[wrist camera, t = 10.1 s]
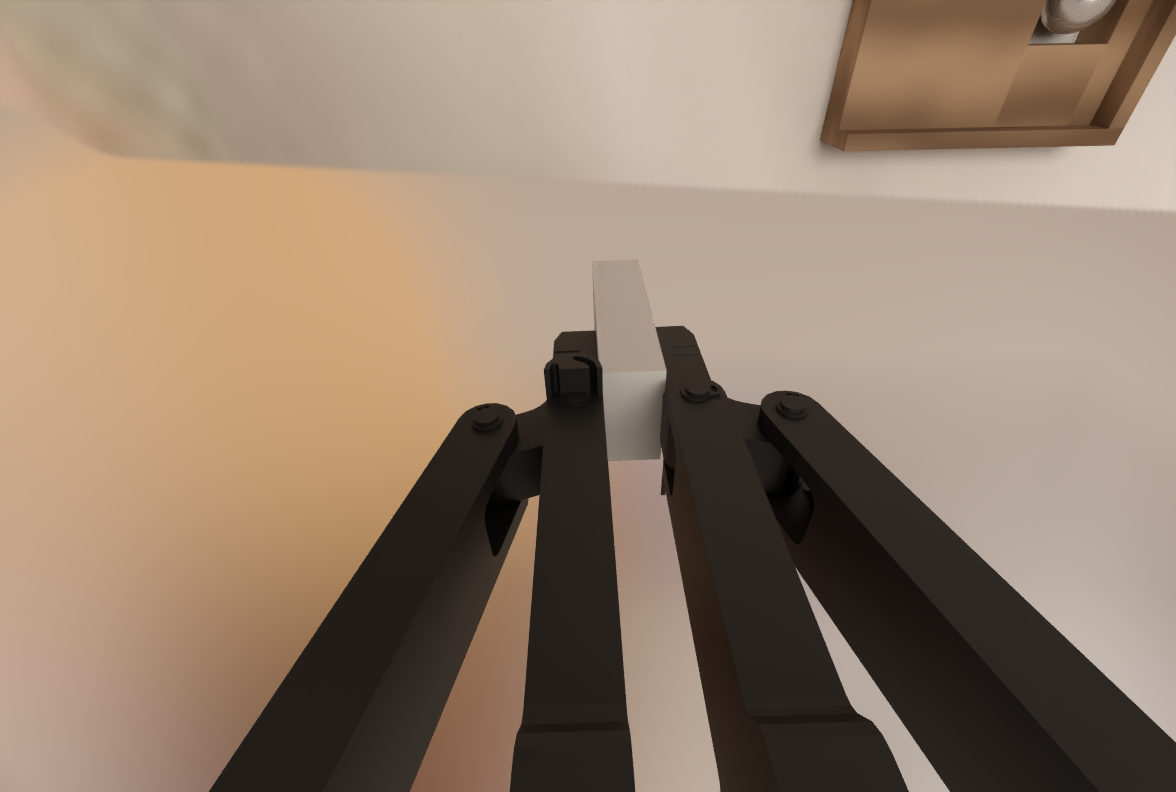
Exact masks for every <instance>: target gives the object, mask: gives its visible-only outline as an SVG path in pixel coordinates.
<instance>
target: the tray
mask: <svg viewBox="0 0 1176 792" xmlns="http://www.w3.org/2000/svg"><path fill="white" fill-rule="evenodd" d="M1045 3H1046V0H853V4H852V8H851V12H850V16H849V21H848V25H847V29H846V33H845V38H844V42H843V46H842V50H841V55H840V59H839V63H838V67H837V72H836V76H835V80H834V84H833V89H832V93H831V97H830V101H829V106H828V110H827V114H826V118H825V123H824V127H823V131H822V135H821V140H822V141H824V142H826V143H828V144H830V145H832V146H834V147H837V148H839V149H841V150H843V151H866V150H914V149H962V148H1010V147H1057V146H1105V145H1115V143H1116V141H1117V140H1118V138H1119V136H1120V134H1121V132H1122V131H1123V129H1124V127H1125V125H1126V123H1127V122H1128V120H1129V118H1130V116H1131V114H1132V113H1133V111H1134V109H1135V107H1136V105H1137V104H1138V102H1139V100H1140V98H1141V96H1142V95H1143V93H1144V91H1145V89H1146V87H1147V86H1148V84H1149V82H1150V80H1151V78H1152V76H1153V75H1154V73H1155V71H1156V69H1157V67H1158V66H1159V64H1160V62H1161V60H1162V58H1163V57H1164V55H1165V53H1166V51H1167V49H1168V48H1169V46H1170V44H1171V42H1172V40H1173V39H1174V37H1175V35H1176V0H1117V1H1116V2H1115V4H1114V5H1113V7H1112V8H1111V9H1110V10H1109V11H1108V12H1107V13H1106V14H1105V15H1104V16H1103V17H1102V18H1101V19H1100V20H1098V21H1097V22H1096V23H1094V24H1093V25H1091V26H1089V27H1087V28H1085V29H1083V30H1081V32H1080V34H1079V36H1078V38H1077V41H1076V43H1057V44H1029V41H1030V39H1031V36H1032V34H1033V31H1034V29H1035V27H1036V24H1037V22H1038V19H1039V17H1040V15H1041V12H1042V10H1043V7H1044V5H1045Z"/></svg>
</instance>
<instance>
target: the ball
mask: <svg viewBox="0 0 1176 792" xmlns="http://www.w3.org/2000/svg"><path fill="white" fill-rule="evenodd" d="M1116 1H1117V0H1046V3H1045V5H1044V7H1043V10H1042V12H1041V15H1040V18H1041V21H1042V23H1043V25H1044V26H1045V27H1046V28H1047V29H1048V30H1050V31H1051V32H1054V33H1058V34H1069V33H1074V32H1077V31H1081V30H1083V29H1085V28H1087V27H1089V26H1091V25H1093V24H1094V23H1096V22H1097V21H1098V20H1100V19H1101V18H1102V17H1103V16H1104V15H1105V14H1106V13H1107V12H1108V11H1109V10H1110V9H1111V8H1112V7H1113V5H1114V4H1115V2H1116Z"/></svg>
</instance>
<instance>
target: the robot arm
mask: <svg viewBox="0 0 1176 792" xmlns="http://www.w3.org/2000/svg"><path fill="white" fill-rule="evenodd" d="M592 266H593V299H594V331H572V332H562V333H561V334H560V335H559V336H558V337H557V339H556V340H555V341H554V354H553V359H552V360H550V361H549V362H548V363H547V364H546V366H545V368H544V377H545V386H546V395H547V400H546V402H545V403H543V404H542V405H541V406H539V407H537V408H535V409H534V410H531V411H528V412H525V413H521V414H517V415H515V413H514V411H513V410H512V409H510V408H509V407H508V406H505V405H502V404H497V403H490V404H483V405H479V406H475V407H473V408H471V409H469V410H467V411H466V412H465V413H464V414H463V415H462V416H461V417H460V418H459V419H458V421H457V422H456V424H455V425H454V427H453V428H452V430H451V431H450V433H449V434H448V436H447V437H446V439H445V440H444V442H443V443H442V445H441V446H440V448H439V449H438V451H437V452H436V454H435V455H434V457H433V458H432V460H431V461H430V462H429V464H428V466H427V467H426V468H425V470H424V472H423V473H422V475H421V476H420V477H419V479H418V480H417V482H416V484H415V485H414V486H413V488H412V490H411V491H410V492H409V494H408V495H407V497H406V498H405V500H404V501H403V503H402V504H401V506H400V507H399V509H398V510H397V512H396V513H395V515H394V516H393V518H392V519H391V521H390V522H389V524H388V525H387V527H386V528H385V530H384V531H383V533H382V534H381V536H380V537H379V539H378V540H377V542H376V543H375V545H374V546H373V548H372V549H371V551H370V552H369V554H368V555H367V556H366V558H365V560H364V561H363V562H362V564H361V565H360V567H359V569H358V570H357V572H356V573H355V574H354V576H353V577H352V579H351V580H350V582H349V583H348V585H347V587H346V588H345V589H344V591H343V592H342V594H341V595H340V597H339V598H338V600H337V601H336V603H335V604H334V606H333V608H332V609H331V610H330V612H329V613H328V615H327V617H326V618H325V619H324V621H323V622H322V624H321V625H320V627H319V628H318V630H317V631H316V633H315V634H314V636H313V637H312V639H311V640H310V642H309V643H308V645H307V646H306V647H305V649H304V650H303V652H302V653H301V655H300V656H299V658H298V659H297V661H296V662H295V664H294V665H293V667H292V668H291V670H290V672H289V673H288V674H287V676H286V677H285V679H284V680H283V682H282V684H281V685H280V686H279V688H278V689H277V691H276V692H275V694H274V695H273V697H272V698H271V700H270V701H269V703H268V704H267V706H266V707H265V709H264V710H263V712H262V713H261V715H260V717H259V718H258V719H257V721H256V722H255V724H254V725H253V727H252V728H251V730H250V731H249V733H248V734H247V736H246V737H245V738H244V740H243V742H242V743H241V744H240V746H239V748H238V749H237V750H236V752H235V753H234V755H233V756H232V758H231V760H230V761H229V762H228V764H227V765H226V767H225V768H224V770H223V771H222V773H221V774H220V776H219V777H218V779H217V780H216V782H215V783H214V785H213V786H212V788H211V789H210V791H209V792H410V790H411V787H412V785H413V782H414V780H415V777H416V775H417V773H418V770H419V768H420V765H421V763H422V760H423V758H424V756H425V753H426V751H427V748H428V746H429V743H430V741H431V738H432V736H433V734H434V731H435V729H436V726H437V724H438V721H439V719H440V717H441V714H442V712H443V709H444V706H445V704H446V702H447V699H448V697H449V695H450V692H451V690H452V687H453V685H454V683H455V680H456V678H457V675H458V673H459V670H460V668H461V665H462V663H463V661H464V658H465V656H466V653H467V651H468V648H469V646H470V643H471V641H472V639H473V636H474V633H475V631H476V629H477V626H478V624H479V622H480V619H481V617H482V614H483V612H484V609H485V607H486V605H487V602H488V600H489V597H490V595H491V592H492V590H493V587H494V585H495V583H496V580H497V578H498V575H499V573H500V570H501V568H502V566H503V563H504V561H505V558H506V556H507V553H508V550H509V548H510V546H511V544H512V541H513V539H514V536H515V534H516V531H517V529H518V527H519V524H520V522H521V519H522V517H523V514H524V512H525V509H526V507H527V505H528V498H530V497H534V496H537V495H540V497H539V510H538V524H537V537H536V550H535V564H534V576H533V590H532V604H531V616H530V630H529V643H528V656H527V670H526V684H525V696H524V710H523V718H522V723H521V726H520V728H519V730H518V733H517V736H516V741H515V746H514V754H513V764H512V772H511V784H510V792H635V782H634V770H633V758H632V746H631V737H630V729H629V724H628V718H627V707H626V694H625V680H624V669H623V668H624V667H623V654H622V641H621V627H620V616H619V615H620V614H619V602H618V588H617V575H616V561H615V548H614V535H613V522H612V509H611V495H610V482H609V470H608V461H618V460H619V461H621V460H644V459H645V460H648V459H660V454H661V448H662V453H663V458H664V461H663V473H662V474H663V475H662V487H661V495H665V492H666V496H667V501H668V506H669V512H670V517H671V523H672V528H673V533H674V539H675V544H676V549H677V554H678V560H679V565H680V571H681V576H682V581H683V587H684V592H685V597H686V602H687V608H688V614H689V619H690V624H691V629H692V634H693V640H694V645H695V650H696V656H697V662H698V667H699V672H700V678H701V683H702V688H703V694H704V699H705V704H706V710H707V715H708V721H709V725H710V731H711V737H712V742H713V747H714V753H715V758H716V763H717V769H718V775H719V781H720V791H721V792H909V791H908V789H907V786H906V784H905V782H904V779H903V777H902V775H901V773H900V770H899V768H898V765H897V763H896V761H895V759H894V756H893V754H892V752H891V750H890V748H889V746H888V744H887V742H886V740H885V739H884V737H883V735H882V733H881V732H880V731H879V730H878V728H877V727H876V726H875V725H874V723H873V722H872V721H870V720H869V719H867V718H865V717H863V716H861V715H860V714H858V713H857V712H856V711H855V710H854V709H853V707H852V706H851V704H850V702H849V700H848V698H847V696H846V694H845V691H844V689H843V686H842V683H841V681H840V679H839V676H838V673H837V671H836V668H835V666H834V663H833V661H832V658H831V656H830V653H829V651H828V648H827V646H826V643H825V641H824V638H823V636H822V633H821V631H820V628H819V626H818V623H817V621H816V619H815V616H814V613H813V611H812V608H811V606H810V603H809V601H808V598H807V596H806V593H805V591H804V588H803V586H802V583H801V581H800V578H799V576H798V573H797V571H796V568H797V570H798V571H799V573H800V574H801V576H802V577H803V579H804V580H805V582H806V583H807V584H808V586H809V587H810V589H811V590H812V592H813V593H814V595H815V596H816V597H817V599H818V600H819V602H820V603H821V604H822V606H823V608H824V609H825V611H826V612H827V613H828V615H829V616H830V618H831V619H832V621H833V622H834V624H835V625H836V626H837V628H838V629H839V631H840V632H841V634H842V635H843V637H844V638H845V640H846V641H847V643H848V644H849V646H850V647H851V648H852V650H853V651H854V653H855V654H856V656H857V657H858V658H859V660H860V662H861V663H862V664H863V666H864V667H865V669H866V670H867V671H868V673H869V675H870V676H871V677H872V679H873V680H874V682H875V683H876V685H877V686H878V688H879V689H880V691H881V692H882V694H883V695H884V696H885V698H886V699H887V701H888V702H889V704H890V705H891V706H892V708H893V709H894V711H895V712H896V714H897V715H898V717H899V718H900V719H901V721H902V722H903V724H904V725H905V727H906V728H907V730H908V731H909V733H910V734H911V736H912V737H913V739H914V740H915V741H916V743H917V744H918V746H919V747H920V749H921V750H922V752H923V753H924V754H925V756H926V757H927V759H928V760H929V762H930V763H931V764H932V766H933V767H934V769H935V770H936V772H937V773H938V775H939V776H940V778H941V779H942V781H943V782H944V784H945V785H946V786H947V788H948V789H949V791H950V792H1176V742H1175V741H1174V740H1173V739H1171V738H1170V737H1169V736H1168V735H1167V734H1166V733H1165V732H1164V731H1163V730H1162V729H1161V728H1160V727H1159V726H1158V725H1157V724H1156V723H1155V722H1153V720H1152V719H1150V718H1149V717H1148V716H1147V715H1146V714H1145V713H1144V712H1143V711H1142V710H1141V709H1140V708H1139V707H1138V706H1137V705H1136V704H1135V703H1134V702H1132V700H1130V699H1129V698H1128V697H1127V696H1126V695H1125V694H1124V693H1123V692H1122V691H1121V690H1120V689H1119V688H1118V687H1117V686H1116V685H1115V684H1114V683H1113V682H1112V681H1110V680H1109V679H1108V678H1107V677H1106V676H1105V675H1104V674H1103V673H1102V672H1101V671H1100V670H1099V669H1098V668H1097V667H1096V666H1095V665H1094V664H1093V663H1092V662H1090V661H1089V660H1088V659H1087V658H1086V657H1085V656H1084V655H1083V654H1082V653H1081V652H1080V651H1079V650H1078V649H1077V648H1076V647H1075V646H1073V644H1072V643H1070V642H1069V641H1068V640H1067V639H1066V638H1065V637H1064V636H1063V635H1062V634H1061V633H1060V632H1059V631H1058V630H1056V628H1055V627H1054V626H1053V625H1051V624H1050V623H1049V622H1048V621H1047V620H1046V619H1045V618H1044V617H1043V616H1042V615H1041V614H1040V613H1039V612H1038V611H1037V610H1036V609H1035V608H1034V607H1032V605H1030V604H1029V603H1028V602H1027V601H1026V600H1025V599H1024V598H1023V597H1022V596H1021V595H1020V594H1019V593H1018V592H1017V591H1016V590H1015V589H1014V588H1013V587H1012V586H1010V585H1009V584H1008V583H1007V582H1006V581H1005V580H1004V579H1003V578H1002V577H1001V576H1000V575H999V574H998V573H997V572H996V571H995V570H994V569H992V568H991V567H990V566H989V565H988V564H987V563H986V562H985V561H984V560H983V559H982V558H981V557H980V556H979V555H978V554H977V553H976V552H975V551H974V550H972V549H971V548H970V547H969V546H968V545H967V544H966V543H965V542H964V541H963V540H962V539H961V538H960V537H959V536H958V535H957V534H956V533H955V532H954V531H952V530H951V529H950V528H949V527H948V526H947V525H946V524H945V523H944V522H943V521H942V520H941V519H940V518H939V517H938V516H937V515H936V514H935V513H934V512H932V511H931V510H930V509H929V508H928V507H927V506H926V505H925V504H924V503H923V502H922V501H921V500H920V499H919V498H918V497H917V496H916V495H915V494H914V493H912V491H910V490H909V489H908V488H907V487H906V486H905V485H904V484H903V483H902V482H901V481H900V480H899V479H898V478H897V477H896V476H895V475H894V474H893V473H891V472H890V471H889V470H888V469H887V468H886V467H885V466H884V465H883V464H882V463H881V462H880V461H879V460H878V459H877V458H876V457H875V456H873V455H872V453H870V452H869V451H868V450H867V449H866V448H865V447H864V446H863V445H862V444H861V443H860V442H859V441H858V440H857V439H856V438H855V437H854V436H852V435H851V434H850V433H849V432H848V431H847V430H846V429H845V428H844V427H843V426H842V425H841V424H840V423H839V422H838V421H837V420H836V419H835V418H834V417H833V416H832V415H830V414H829V413H828V412H827V411H826V410H825V409H824V408H823V407H822V406H821V405H820V404H819V403H818V402H816V401H815V400H813V399H812V398H810V397H809V396H806V395H803V394H801V393H798V392H792V391H776V392H773V393H770V394H767V395H766V396H765V397H764V398H763V399H762V402H761V405H755V404H749V403H743V402H739V401H735V400H732V399H730V398H727V395H726V393H725V391H724V390H723V388H722V387H721V386H720V385H718V384H717V383H715V382H714V381H711V379H710V376H709V374H708V371H707V368H706V366H705V363H704V360H703V358H702V355H701V353H700V350H699V347H698V344H697V342H696V339H695V337H694V334H692V333H691V332H690V331H689V330H687V329H686V328H685V327H684V326H669V327H655V325H654V320H653V317H652V313H651V309H650V305H649V301H648V298H647V294H646V290H645V286H644V282H643V278H642V274H641V270H640V267H639V263H638V260H623V261H599V262H592ZM795 567H796V568H795Z"/></svg>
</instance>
